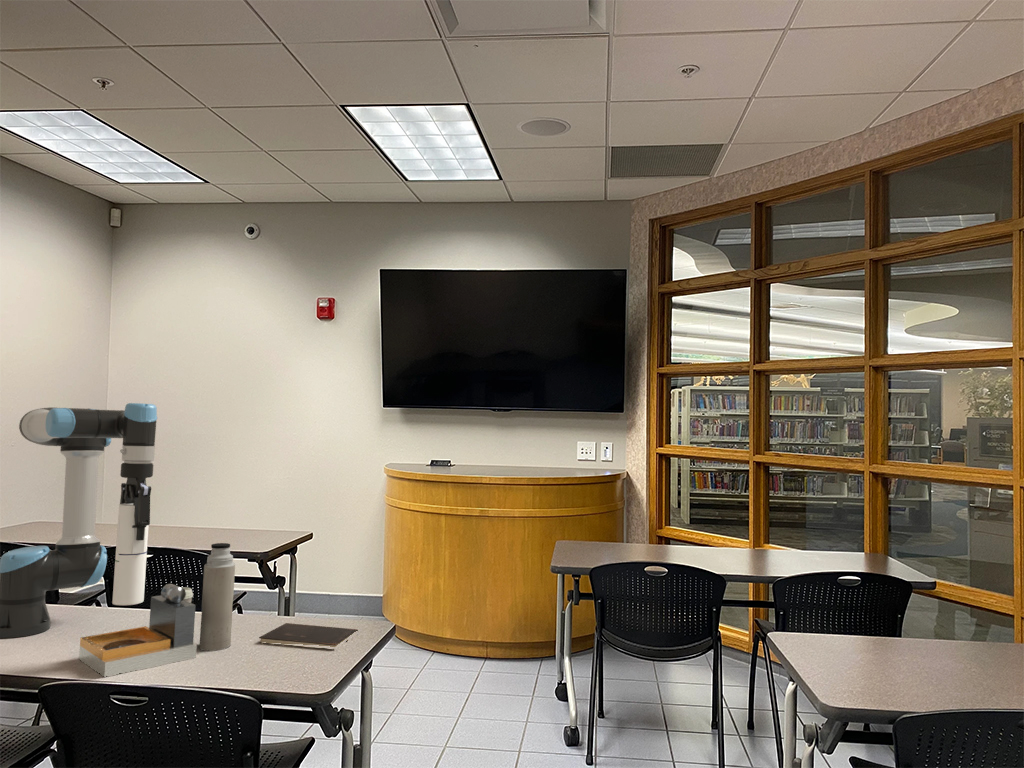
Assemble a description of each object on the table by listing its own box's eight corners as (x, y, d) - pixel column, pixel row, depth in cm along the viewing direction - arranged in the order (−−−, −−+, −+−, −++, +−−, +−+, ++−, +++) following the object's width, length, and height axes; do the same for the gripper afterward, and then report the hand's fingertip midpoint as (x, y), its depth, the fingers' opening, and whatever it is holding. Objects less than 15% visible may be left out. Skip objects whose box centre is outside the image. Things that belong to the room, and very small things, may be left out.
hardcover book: (335, 652, 195) (335, 644, 196) (258, 645, 200) (259, 637, 200) (357, 636, 211) (358, 628, 211) (286, 630, 215) (286, 622, 215)
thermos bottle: (222, 640, 201) (228, 540, 203) (235, 646, 196) (241, 544, 198) (194, 645, 196) (200, 543, 197) (207, 652, 190) (213, 547, 192)
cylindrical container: (130, 606, 179) (136, 506, 180) (105, 603, 180) (112, 504, 182) (149, 599, 186) (156, 503, 187) (126, 597, 187) (132, 502, 189)
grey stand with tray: (78, 659, 182) (83, 590, 183) (167, 642, 198) (171, 578, 199) (104, 677, 170) (109, 603, 171) (195, 657, 186) (200, 589, 187)
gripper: (108, 460, 189) (101, 547, 188) (137, 464, 176) (131, 558, 174) (137, 460, 195) (132, 544, 193) (168, 464, 182) (162, 554, 180)
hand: (131, 550), depth 184 cm, fingers closed on cylindrical container, 7 cm apart
